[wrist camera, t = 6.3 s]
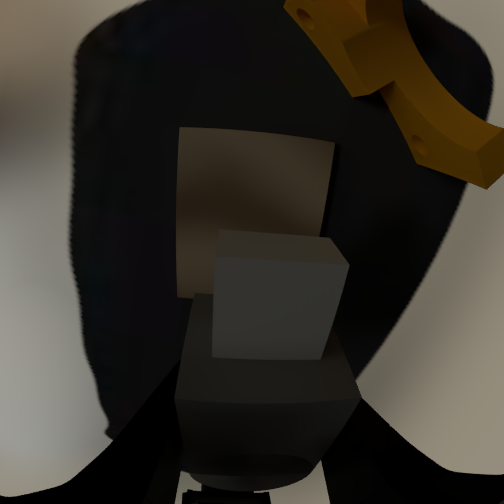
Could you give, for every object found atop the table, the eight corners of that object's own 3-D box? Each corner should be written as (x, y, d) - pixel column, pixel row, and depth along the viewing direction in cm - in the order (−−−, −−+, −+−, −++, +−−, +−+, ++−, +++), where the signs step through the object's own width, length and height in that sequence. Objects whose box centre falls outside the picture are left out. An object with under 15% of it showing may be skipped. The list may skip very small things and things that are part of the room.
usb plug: (286, 414, 12) (297, 488, 8) (199, 411, 11) (193, 488, 8) (339, 222, 8) (408, 301, 4) (196, 210, 8) (161, 292, 4)
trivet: (302, 299, 19) (304, 304, 18) (179, 291, 18) (177, 297, 17) (331, 142, 15) (334, 142, 14) (182, 127, 14) (179, 127, 13)
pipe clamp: (282, 8, 11) (308, -49, 5) (340, -17, 10) (387, -65, 4) (396, 177, 16) (464, 209, 10) (441, 144, 15) (513, 164, 9)
